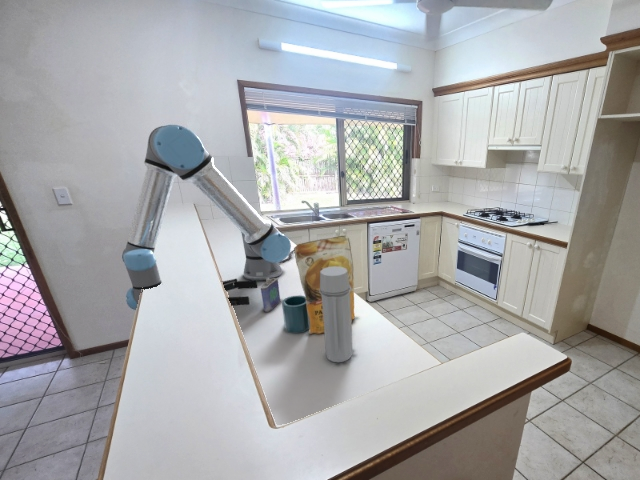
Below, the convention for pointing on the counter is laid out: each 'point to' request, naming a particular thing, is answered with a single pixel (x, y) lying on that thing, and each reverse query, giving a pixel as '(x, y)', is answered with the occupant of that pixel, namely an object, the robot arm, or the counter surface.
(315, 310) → the pancake mix bag
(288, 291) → the counter surface
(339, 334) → the water bottle
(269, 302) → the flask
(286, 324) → the coffee cup
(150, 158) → the robot arm
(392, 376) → the counter surface
